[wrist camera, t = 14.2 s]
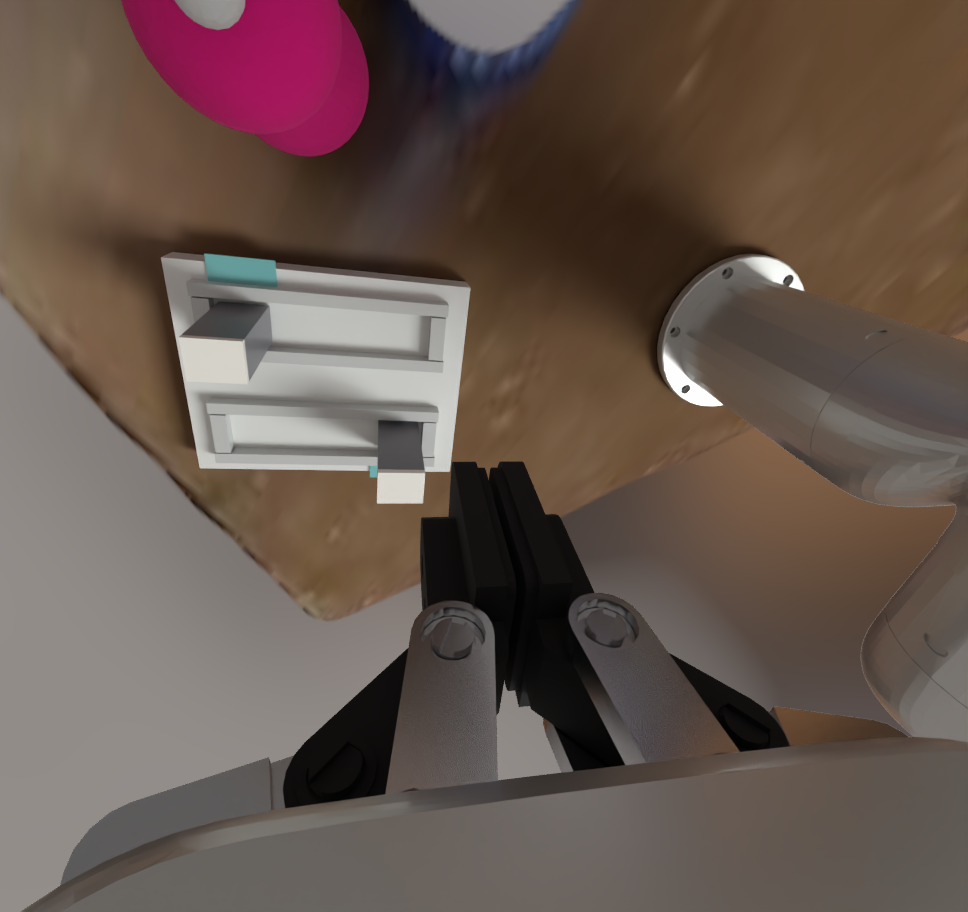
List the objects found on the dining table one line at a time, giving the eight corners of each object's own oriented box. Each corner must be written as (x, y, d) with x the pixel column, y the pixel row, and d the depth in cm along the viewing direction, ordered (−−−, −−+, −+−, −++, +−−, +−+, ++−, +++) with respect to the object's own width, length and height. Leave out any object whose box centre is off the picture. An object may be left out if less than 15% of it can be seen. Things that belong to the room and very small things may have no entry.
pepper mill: (279, 173, 30) (150, 194, 13) (209, 25, 26) (-100, -215, 9) (389, 133, 30) (401, 101, 13) (336, -23, 26) (256, -350, 9)
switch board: (466, 274, 35) (473, 283, 33) (446, 464, 43) (450, 483, 40) (171, 243, 31) (152, 250, 28) (208, 460, 39) (196, 481, 36)
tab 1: (269, 305, 32) (242, 341, 26) (272, 341, 33) (247, 384, 27) (218, 301, 31) (178, 337, 25) (223, 338, 32) (186, 381, 26)
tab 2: (417, 421, 38) (425, 473, 32) (416, 448, 39) (422, 503, 33) (378, 420, 37) (377, 472, 31) (377, 447, 38) (376, 503, 32)
